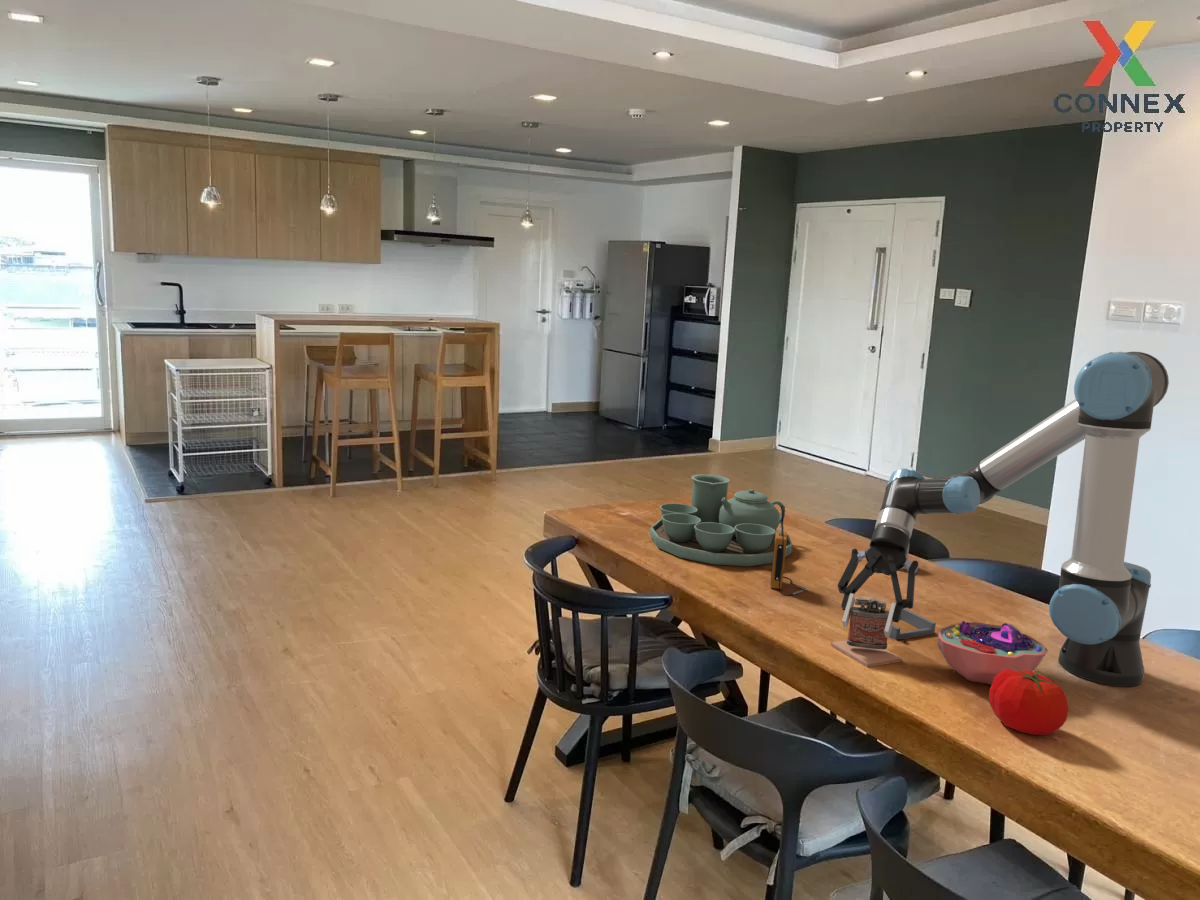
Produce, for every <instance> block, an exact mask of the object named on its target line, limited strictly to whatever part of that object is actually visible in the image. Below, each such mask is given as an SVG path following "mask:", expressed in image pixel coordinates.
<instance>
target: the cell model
mask: <svg viewBox="0 0 1200 900" xmlns="http://www.w3.org/2000/svg"><path fill="white" fill-rule="evenodd" d="M937 646H938V649H939V652H940V653H941V654H942V656H943V657H944V659H945V662H946V663H947V664H948V666H949V667H950V668H951V669H953V670H954V671H955V672H956V673H958V674H959V675H961V676H962V677H963V678H965V679H966V680H967V681H971V682H974V683H978V684H979V683H981V684H982V683H983V684H988V685H992V682H993V680H994V677H995V676H997V675H998V674H999V673H1000V672H1001V671H1002V670H1006V669H1008V670H1013V671H1019V670H1027V671H1032V672H1035V671H1034V670H1036V669H1037V667H1038V666H1039V665H1040V663H1041V662H1042V661H1043V659H1044V658H1045V656H1046V654H1047V653H1048V648H1047V646H1045V645H1044V644H1043V643H1041V641H1038V640H1037V639H1036V638H1034V637H1032V636H1030V635H1028V634H1026V633H1023V632H1021V630H1019V628H1017V626H1015V625H1013V624H1011V623H1007V622H1004V623H1002V625H997V624H988V623H982V622H977V621H965V620H962V621H961V622H956V623H951V624H948V625H946V626H943V627H940V628H938V629H937ZM1014 666H1015V667H1014ZM1017 668H1018V669H1019V670H1018V669H1017Z"/></svg>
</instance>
